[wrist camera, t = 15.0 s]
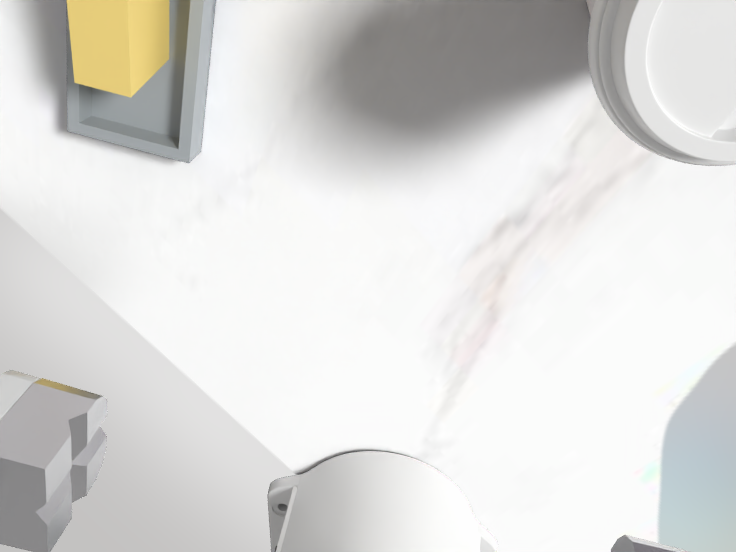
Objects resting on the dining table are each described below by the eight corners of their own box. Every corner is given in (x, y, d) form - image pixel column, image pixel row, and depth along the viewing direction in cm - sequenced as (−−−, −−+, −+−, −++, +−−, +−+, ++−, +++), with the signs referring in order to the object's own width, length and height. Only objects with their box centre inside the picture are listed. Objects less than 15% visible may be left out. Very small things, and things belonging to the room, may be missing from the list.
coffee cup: (612, 112, 38) (682, 234, 25) (517, -40, 35) (539, 10, 22) (792, -1, 34) (983, 74, 21) (702, -183, 31) (861, -225, 18)
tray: (200, 151, 42) (189, 163, 41) (84, 120, 42) (67, 131, 41) (227, -113, 35) (213, -112, 33) (85, -149, 35) (65, -150, 33)
